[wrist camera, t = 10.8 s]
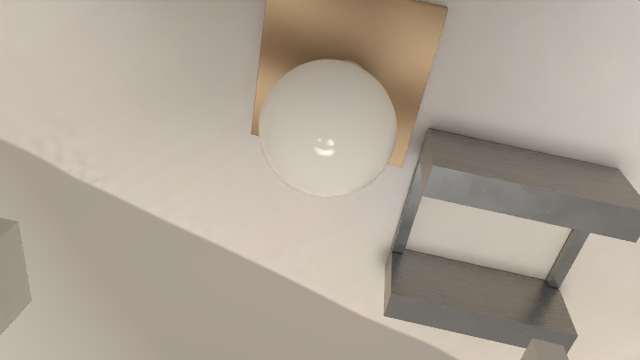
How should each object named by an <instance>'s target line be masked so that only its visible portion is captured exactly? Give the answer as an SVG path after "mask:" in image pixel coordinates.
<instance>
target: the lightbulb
mask: <svg viewBox="0 0 640 360" xmlns="http://www.w3.org/2000/svg"><path fill="white" fill-rule="evenodd" d="M396 137H397V120H396V114H395V110H394V107H393V104H392V101H391V99H390V97H389V95H388V93H387V92H386V90H385V89H384V87H383V86H382V85H381V83H380V82H379V81H378V80H377V79H376V78H375V77H374V76H373V75H371V74H370V73H369V72H367V71H366V70H364V69H363V68H362V67H361V66H360V65H359V64H357V63H355V62H353V61H349V60H336V59H320V60H314V61H310V62H306V63H304V64H301V65H299V66H297V67H295V68H293V69H291V70H290V71H288V72H287V73H286V74H284V75H283V76H282V77H281V78H280V79H279V80H278V81H277V82H276V83H275V84H274V86H273V87H272V88H271V90H270V91H269V93H268V94H267V96H266V98H265V100H264V103H263V105H262V109H261V112H260V117H259V140H260V145H261V149H262V152H263V155H264V157H265V159H266V161H267V163H268V165H269V166H270V168H271V169H272V171H273V172H274V173H275V175H276V176H277V177H278V178H279V179H280V180H281V181H282V182H284V183H285V184H286V185H288V186H289V187H290V188H292V189H294V190H296V191H298V192H300V193H302V194H305V195H308V196H312V197H317V198H338V197H344V196H347V195H350V194H353V193H356V192H358V191H360V190H362V189H363V188H365V187H366V186H368V185H369V184H371V183H372V182H373V181H374V180H375V179H376V178H377V177H378V176H379V175H380V174H381V173H382V171H383V170H384V169H385V167H386V166H387V164H388V162H389V160H390V158H391V156H392V153H393V151H394V147H395V143H396Z"/></svg>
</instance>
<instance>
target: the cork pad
mask: <svg viewBox="0 0 640 360" xmlns="http://www.w3.org/2000/svg"><path fill="white" fill-rule="evenodd" d="M447 11H448V8H447V7H443V6H438V5H433V4H428V3H423V2H419V1H414V0H266V7H265V16H264V25H263V34H262V43H261V52H260V61H259V69H258V78H257V87H256V96H255V105H254V114H253V123H252V132H251V134H252V135H256V136H259V117H260V112H261V109H262V105H263V103H264V100H265V98H266V96H267V94H268V93H269V91H270V90H271V88H272V87H273V86H274V84H275V83H276V82H277V81H278V80H279V79H280V78H281V77H282V76H283V75H284V74H286V73H287V72H288V71H290V70H291V69H293V68H295V67H297V66H299V65H301V64H304V63H306V62H310V61H314V60H320V59H336V60H349V61H353V62H355V63H357V64H359V65H360V66H361V67H362V68H363V69H364V70H366V71H367V72H369V73H370V74H371V75H373V76H374V77H375V78H376V79H377V80H378V81H379V82H380V83H381V85H382V86H383V87H384V89H385V90H386V92H387V93H388V95H389V97H390V99H391V101H392V104H393V107H394V110H395V114H396V120H397V137H396V143H395V147H394V151H393V153H392V156H391V158H390V160H389V162H388V164H390V165H394V166H399V167H402V165H403V162H404V158H405V155H406V151H407V148H408V144H409V141H410V138H411V134H412V131H413V127H414V124H415V121H416V117H417V114H418V110H419V107H420V103H421V100H422V97H423V93H424V90H425V86H426V83H427V80H428V76H429V73H430V69H431V66H432V62H433V59H434V56H435V52H436V49H437V45H438V42H439V39H440V35H441V32H442V28H443V25H444V21H445V18H446V15H447Z"/></svg>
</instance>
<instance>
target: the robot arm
mask: <svg viewBox="0 0 640 360" xmlns="http://www.w3.org/2000/svg"><path fill="white" fill-rule="evenodd" d="M30 302H31V294H30V288H29V282H28V276H27V271H26V264H25V259H24V253H23V247H22V241H21V235H20V229H19V224H18V222H17V221H13V220H9V219H4V218H0V335H1V334H2V333H3V332H4V331H5V329H6V328H7V327H8V326H9V325H10V324H11V323H12V322H13V321H14V320H15V318H16V317H17V316H18V315H19V314H20V313H21V312H22V311H23V310H24V308H25V307H26V306H27V305H28V304H29V303H30ZM521 360H569V359H568V357H567V354H566V351H565V348H564V346H563V345H559V344H555V343H551V342H546V341H542V340H537V339H533V338H532V340H531V342H530V343H529V345H528V347H527V349H526V351H525V352H524V354H523V356H522V358H521Z"/></svg>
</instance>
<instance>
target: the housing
mask: <svg viewBox="0 0 640 360" xmlns="http://www.w3.org/2000/svg"><path fill="white" fill-rule="evenodd" d="M422 194H423V196H425V197H430V198H434V199H439V200H444V201H448V202H453V203H457V204H462V205H466V206H471V207H476V208H480V209H485V210H489V211H494V212H498V213H503V214H508V215H512V216H517V217H521V218H526V219H530V220H535V221H539V222H544V223H549V224H553V225H558V226H562V227H567V228H571V229H573V230H572V232H571V233H570V235H569V237H568V239H567V241H566V243H565V245H564V247H563V248H562V250H561V252H560V254H559V256H558V258H557V260H556V262H555V264H554V265H553V267H552V269H551V271H550V273H549V275H548V277H547V279H546V281H545V280H540V279H536V278H531V277H527V276H522V275H518V274H513V273H509V272H504V271H500V270H496V269H491V268H487V267H482V266H478V265H473V264H469V263H464V262H460V261H455V260H451V259H446V258H442V257H437V256H433V255H428V254H424V253H419V252H415V251H410V250H406V249H405V246H406V243H407V240H408V237H409V234H410V231H411V227H412V224H413V221H414V218H415V215H416V212H417V209H418V206H419V203H420V200H421V197H422ZM589 233H594V234H599V235H603V236H608V237H613V238H617V239H622V240H626V241H631V242H635V243H636V241H637V240H638V238H639V237H640V195H639V194H638V193H637V191H636V190H635V189H634V188H633V186H632V185H631V184H630V183H629V181H628V180H627V179H626V178H625V176H624V175H623V174H622V173H621V171H620V170H619V169H615V168H611V167H606V166H601V165H597V164H592V163H587V162H583V161H578V160H573V159H569V158H564V157H559V156H555V155H550V154H545V153H541V152H536V151H531V150H527V149H522V148H517V147H513V146H508V145H503V144H499V143H494V142H489V141H485V140H480V139H475V138H471V137H466V136H462V135H457V134H452V133H448V132H443V131H438V130H434V129H429V128H428V132H427V135H426V138H425V141H424V144H423V148H422V151H421V154H420V157H419V161H418V164H417V167H416V170H415V174H414V177H413V180H412V183H411V186H410V190H409V193H408V196H407V199H406V203H405V206H404V209H403V212H402V215H401V219H400V222H399V225H398V228H397V232H396V235H395V238H394V241H393V245H392V248H391V251H390V254H389V257H388V261H387V264H386V267H385V292H384V316H386V317H390V318H395V319H399V320H404V321H408V322H412V323H417V324H421V325H426V326H430V327H434V328H439V329H443V330H448V331H452V332H456V333H461V334H465V335H470V336H474V337H478V338H483V339H487V340H492V341H496V342H500V343H505V344H509V345H514V346H518V347H522V348H527V347H528V345H529V343H530V342H531V340H532V338H533V339H537V340H542V341H546V342H551V343H555V344H559V345H563V346H564V348H565V351H566V354H567V353H568V351H569V349H570V348H571V346H572V345H573V343H574V341H575V340H576V338H577V337H578V335H577V332H576V330H575V327H574V325H573V323H572V320H571V318H570V315H569V313H568V310H567V308H566V305H565V303H564V300H563V298H562V295H561V293H560V290H559V288H560V286H561V284H562V282H563V280H564V279H565V277H566V275H567V273H568V271H569V269H570V268H571V266H572V264H573V262H574V260H575V259H576V257H577V255H578V253H579V251H580V250H581V248H582V246H583V244H584V242H585V241H586V239H587V237H588V235H589Z"/></svg>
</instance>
